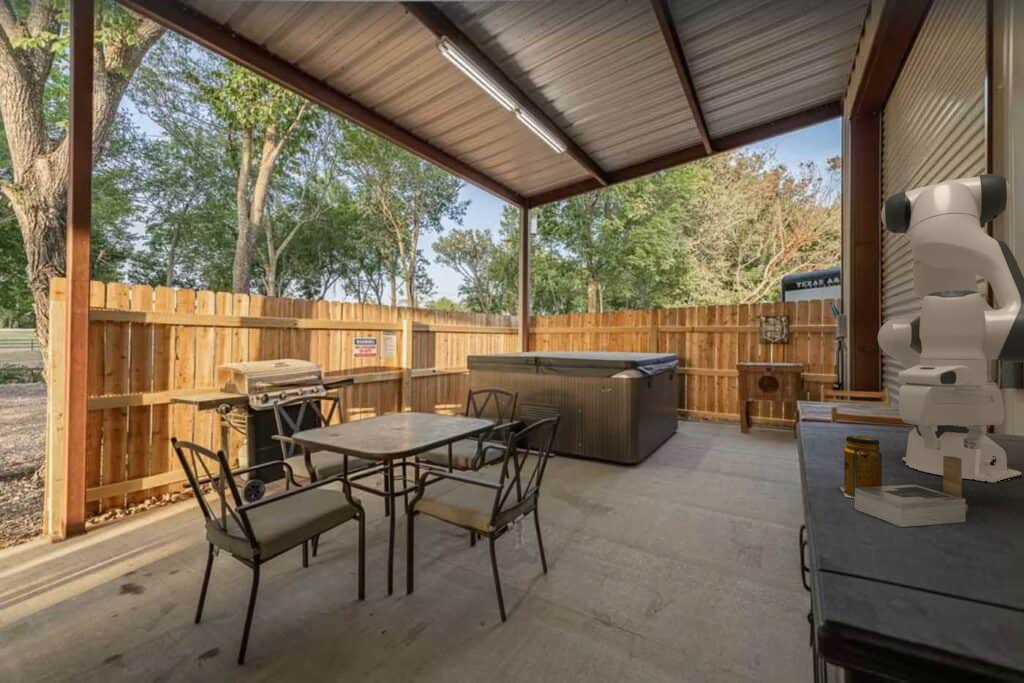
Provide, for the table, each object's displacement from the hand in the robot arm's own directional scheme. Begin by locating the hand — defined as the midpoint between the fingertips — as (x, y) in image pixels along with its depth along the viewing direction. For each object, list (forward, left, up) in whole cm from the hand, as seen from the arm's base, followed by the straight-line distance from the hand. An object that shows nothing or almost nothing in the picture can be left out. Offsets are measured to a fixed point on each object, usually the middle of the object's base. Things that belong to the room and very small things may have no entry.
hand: (952, 448), depth 79 cm
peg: (-1, 0, -12) cm, 12 cm away
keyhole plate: (+11, 0, -12) cm, 16 cm away
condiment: (+8, -9, -12) cm, 17 cm away
